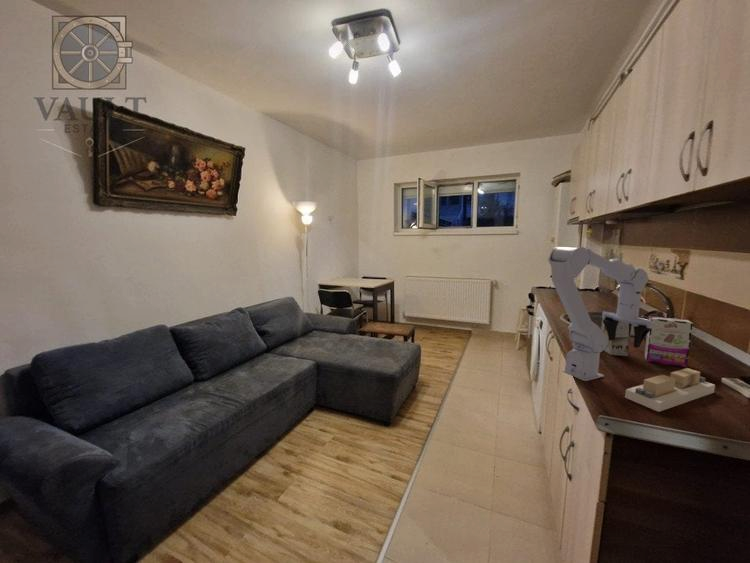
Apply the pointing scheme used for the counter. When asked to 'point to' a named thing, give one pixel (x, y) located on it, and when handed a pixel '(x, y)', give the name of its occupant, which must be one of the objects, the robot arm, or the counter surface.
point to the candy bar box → (668, 341)
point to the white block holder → (666, 392)
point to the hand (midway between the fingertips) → (623, 343)
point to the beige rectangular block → (685, 378)
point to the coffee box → (618, 337)
